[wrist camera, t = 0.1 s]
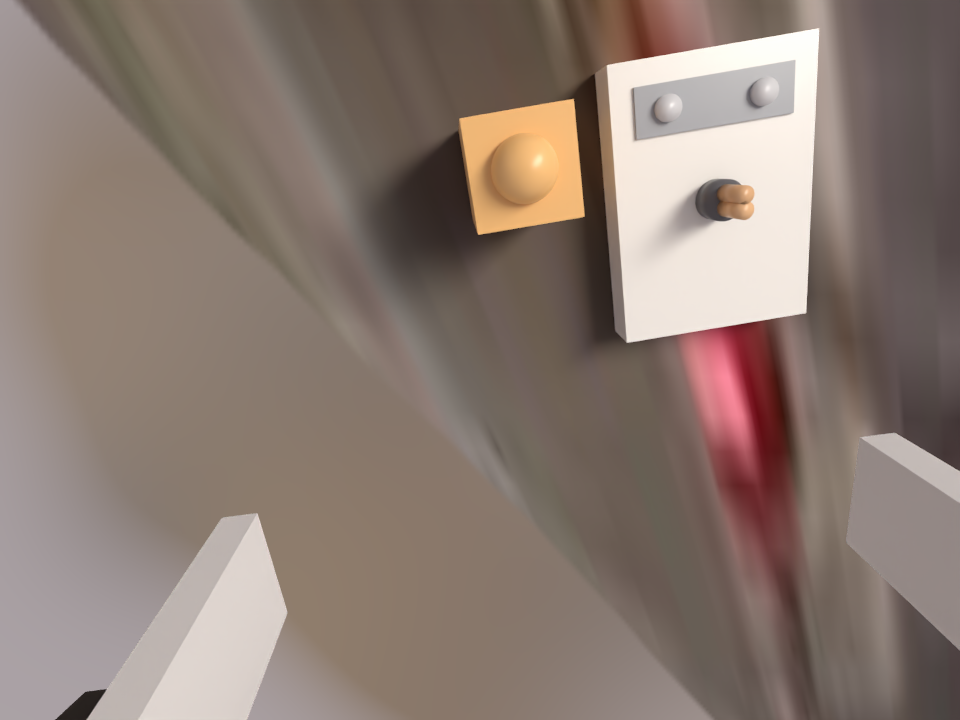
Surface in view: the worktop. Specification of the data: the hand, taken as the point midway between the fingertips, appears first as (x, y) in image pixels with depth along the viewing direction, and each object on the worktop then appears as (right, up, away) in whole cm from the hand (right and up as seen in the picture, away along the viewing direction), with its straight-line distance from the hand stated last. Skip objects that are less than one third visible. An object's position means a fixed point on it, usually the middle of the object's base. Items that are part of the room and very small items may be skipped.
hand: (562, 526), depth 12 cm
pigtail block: (+14, +15, +27) cm, 34 cm away
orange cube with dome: (0, +17, +25) cm, 31 cm away
